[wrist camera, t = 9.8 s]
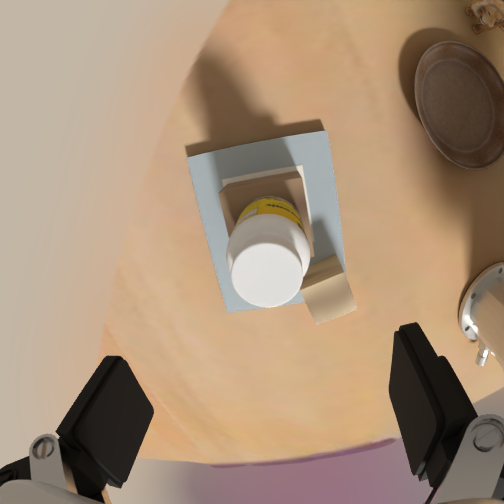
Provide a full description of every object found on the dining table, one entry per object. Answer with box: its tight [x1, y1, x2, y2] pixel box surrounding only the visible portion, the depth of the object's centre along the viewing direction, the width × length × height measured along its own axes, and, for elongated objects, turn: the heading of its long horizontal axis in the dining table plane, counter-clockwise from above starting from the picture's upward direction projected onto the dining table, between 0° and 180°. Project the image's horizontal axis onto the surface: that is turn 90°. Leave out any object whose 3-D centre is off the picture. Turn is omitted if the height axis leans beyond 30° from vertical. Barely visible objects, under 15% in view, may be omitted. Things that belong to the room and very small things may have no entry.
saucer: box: [414, 41, 504, 170], centre depth 24 cm, size 15×15×3 cm
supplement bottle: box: [226, 196, 310, 307], centre depth 21 cm, size 5×5×10 cm
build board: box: [187, 130, 346, 313], centre depth 31 cm, size 18×14×1 cm
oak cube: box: [300, 254, 358, 325], centre depth 30 cm, size 4×4×4 cm
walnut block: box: [218, 171, 314, 257], centre depth 28 cm, size 7×7×5 cm
